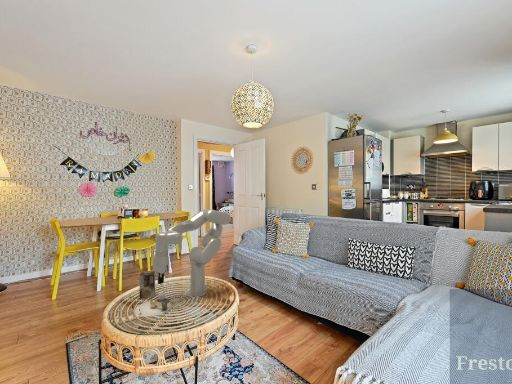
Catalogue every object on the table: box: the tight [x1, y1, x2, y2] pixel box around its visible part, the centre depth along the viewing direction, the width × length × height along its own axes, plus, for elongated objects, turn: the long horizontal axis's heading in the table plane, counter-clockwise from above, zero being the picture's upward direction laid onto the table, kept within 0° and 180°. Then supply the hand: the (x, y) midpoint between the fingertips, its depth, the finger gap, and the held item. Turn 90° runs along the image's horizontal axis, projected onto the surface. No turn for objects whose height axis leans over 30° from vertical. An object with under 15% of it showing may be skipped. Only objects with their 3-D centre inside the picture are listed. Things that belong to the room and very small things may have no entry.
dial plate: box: [134, 297, 173, 318], centre depth 144 cm, size 20×20×3 cm
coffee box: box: [139, 270, 156, 300], centre depth 160 cm, size 9×6×16 cm
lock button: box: [157, 292, 166, 302], centre depth 150 cm, size 4×4×4 cm
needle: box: [149, 298, 168, 310], centre depth 143 cm, size 12×4×4 cm, turn 69°
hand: (160, 283), depth 150 cm, fingers closed
